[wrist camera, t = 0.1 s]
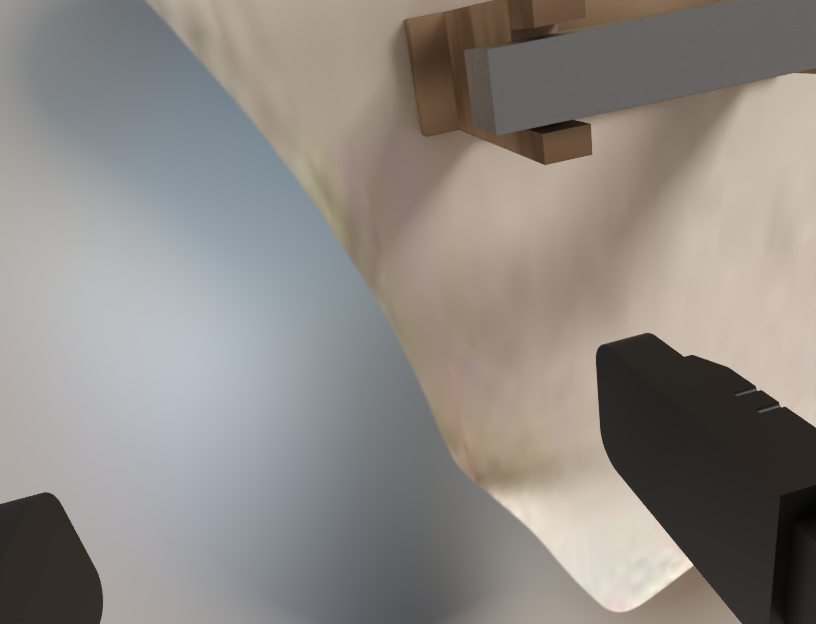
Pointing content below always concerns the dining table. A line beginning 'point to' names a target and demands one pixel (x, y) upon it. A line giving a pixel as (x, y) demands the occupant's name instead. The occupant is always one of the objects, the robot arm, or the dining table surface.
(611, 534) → the dining table surface
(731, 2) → the rail
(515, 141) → the rack
